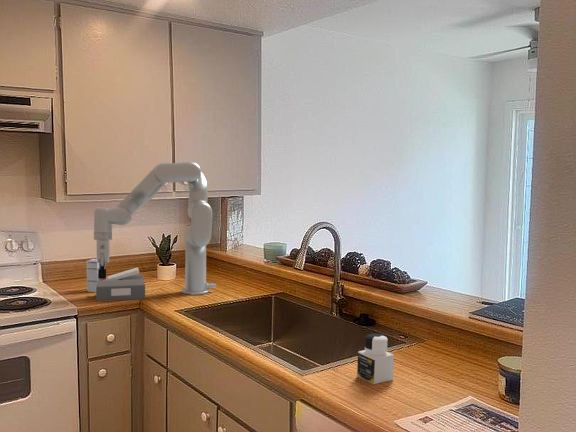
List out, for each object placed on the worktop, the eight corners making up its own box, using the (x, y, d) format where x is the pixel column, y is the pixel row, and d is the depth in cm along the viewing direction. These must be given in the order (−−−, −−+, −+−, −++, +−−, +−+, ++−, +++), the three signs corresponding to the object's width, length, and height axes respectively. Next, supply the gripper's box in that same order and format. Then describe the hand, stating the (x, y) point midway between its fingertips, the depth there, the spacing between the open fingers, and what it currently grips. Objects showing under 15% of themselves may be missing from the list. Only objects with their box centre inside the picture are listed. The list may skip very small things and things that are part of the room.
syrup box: (98, 292, 247) (98, 260, 246) (86, 291, 248) (86, 260, 247) (104, 289, 252) (104, 259, 251) (93, 289, 253) (93, 258, 252)
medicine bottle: (356, 376, 151) (357, 333, 150) (376, 371, 154) (377, 330, 153) (373, 385, 145) (375, 340, 144) (393, 380, 148) (395, 337, 147)
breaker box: (143, 292, 248) (143, 274, 247) (145, 298, 236) (145, 279, 236) (97, 294, 242) (97, 276, 241) (96, 301, 230) (96, 281, 230)
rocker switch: (138, 270, 244) (137, 266, 244) (139, 273, 237) (138, 269, 237) (102, 281, 240) (101, 277, 239) (102, 284, 233) (101, 280, 233)
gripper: (111, 238, 229) (110, 281, 230) (112, 234, 243) (111, 275, 244) (93, 238, 227) (92, 281, 228) (94, 234, 241) (93, 275, 242)
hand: (102, 278), depth 236 cm, fingers closed
